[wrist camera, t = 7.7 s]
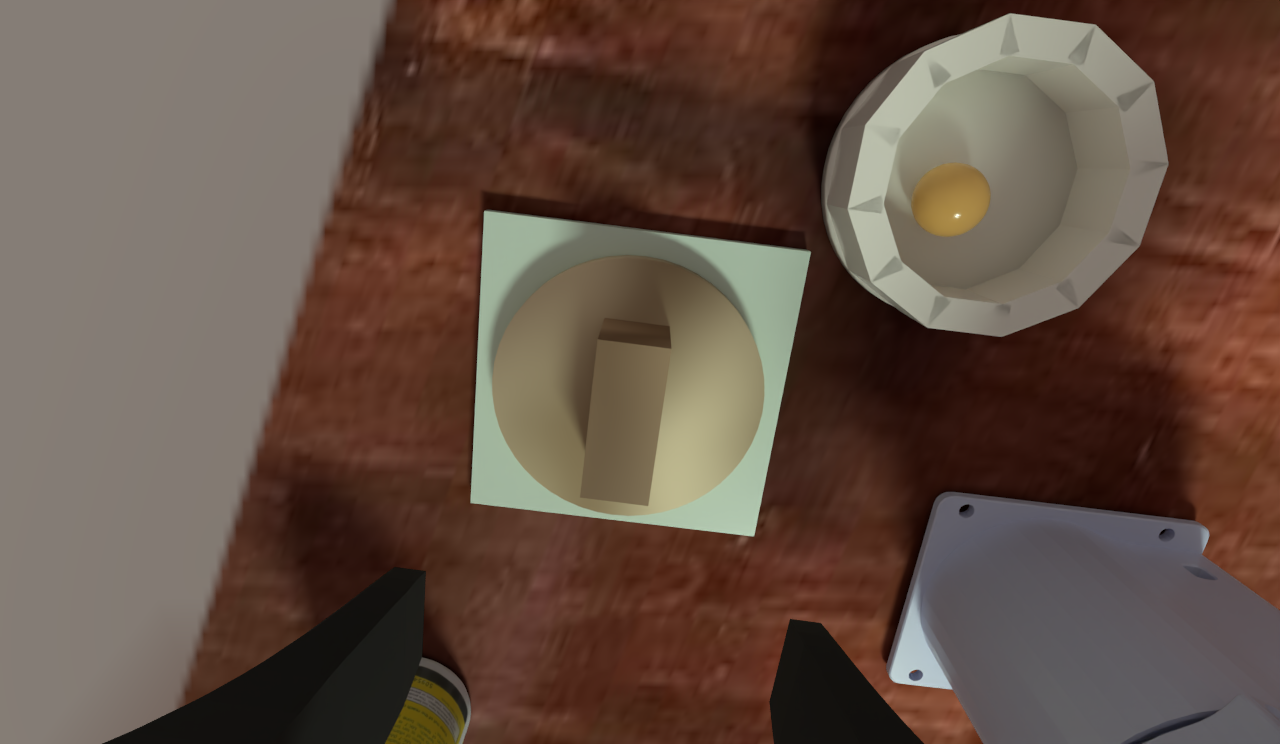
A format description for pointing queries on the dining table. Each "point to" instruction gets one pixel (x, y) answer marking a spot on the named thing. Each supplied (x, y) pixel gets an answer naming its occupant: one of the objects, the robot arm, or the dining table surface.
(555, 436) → the lid
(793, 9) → the dining table surface
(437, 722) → the supplement bottle
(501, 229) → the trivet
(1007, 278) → the bowl
